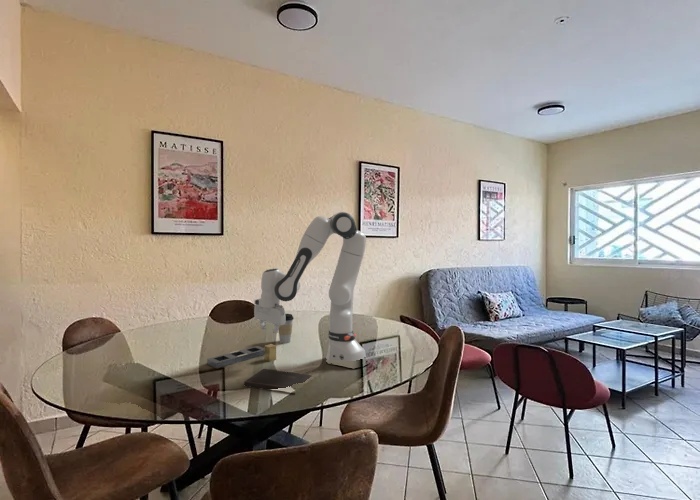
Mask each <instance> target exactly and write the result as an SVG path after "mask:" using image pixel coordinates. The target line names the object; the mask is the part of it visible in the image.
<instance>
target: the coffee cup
mask: <svg viewBox="0 0 700 500" xmlns="http://www.w3.org/2000/svg"><path fill="white" fill-rule="evenodd" d="M285 315H286V323H285V324H284V325H280V327H279V329H278V337H279V343H281V344H289V343H290V342H291V339H292V333H293V320H294V319H295V318H294V316H293V314H291V313H285Z"/></svg>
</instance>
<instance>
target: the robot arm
mask: <svg viewBox="0 0 700 500" xmlns="http://www.w3.org/2000/svg"><path fill="white" fill-rule="evenodd" d="M334 234H336V235H338V236H340V237H342V239H343V240H342V244H341V245H342V246H341V249H340V253H339V257H338V260H337V264H336V268H335V269H334V273H333V277H332V279H331V282H330V286H329V289H328V296H329V299H330V308H329V309H330V311H329V330H328V339H329V340H328V346H327V351H326V352H327V353H326V357H325V363H326V362H329V361H330V360H337V361H356V360H360V359H363V358H364V357H366V358H367V356H366V350H365V348H364V347H362V345H361V344H360V343H359V342H358V341H357V340H356V336H357V333H355V332H354V330H353V311H354V310H353V309H354V291H355V290H354V289H355V285H356V283H357V279H358V276H359V273H360V269H361V265H362V261H363V258H364V254H365V251H366V245H367V244H366V243H367V237H366V234H365V233H364V232H362V231H360V230H358V229H357V225H356V222H355V219H354V217H353V215H351V214H350V213H348V212H346V211H340V212H337V213H335V214H333V215H332V216H331V217H328V218H327V217H325V216H321V215H320V216H315V218H313V219H312V221H311V222H310V224H309V225H308V227H307V228H306V229H305V231H304V233H303V235H302V237H301V239H300V242H299V246H298V247H297V248H298V249H297V251H296V255H295V258H294V260H293V262H292V264H291V266H290V267H289V269H288V271H287V273H284V272H283V271H281V270H280V269H279V268H270V269H269V268H268V269H266V270H264V271H263V272H262V276H261V282H260V284H261V285H260V287H261V294H260V298H258V299H254V301H253V303H254V307H253V308H254V309H253V313H254V314H253V315H254V318H255V319H257V320H259V324H260V329H261V330H266V328H267V325H266V324H265V322H266V323H270V324H274V328H273V329H272V332H273V333H274V334H279V332H278V329H279V327H280V325H284V324H285V323H286V315H285V314H286V311H285V307H284V306H283V305H281V304H280V301H281V302H290V301H292V300H293V299H294V298H295V297H296V295H297V294H298V292H299V290H300V287H301V285H300V284H301V283H300V280H301V278H302V276H303V274H304V272H305V270H306V268H307V267H308V265H309V264H310V263H311V262H312V261H313V260H314V259H315V258H316V257H317V256H318V255H319V254H320V252H321V251H322V250H323V248H324V247H325V244H326V243H327V241H328V239H329V237H330V236H331V235H334ZM326 359H327V360H326Z"/></svg>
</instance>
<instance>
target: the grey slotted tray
mask: <svg viewBox="0 0 700 500" xmlns="http://www.w3.org/2000/svg"><path fill="white" fill-rule="evenodd" d="M261 356H264V347H262V346H259V345H254V346H251V347H248V348H244V349H240V350H238V349H237V350H234V351H231V352H229V353H225V354H221V355H220V354H219V355H218V356H214V357H213V356H212V357H210V358H207V359H206V361H207V362H206V364H207V365H208V366H210V367H212V368H215V369H220V368H222V367H227V366H230V365H233V364H237V363H240V361H241V362H244V361H248V360H251V359H254V358H258V357H261ZM243 360H244V361H243Z"/></svg>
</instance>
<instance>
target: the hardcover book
mask: <svg viewBox="0 0 700 500" xmlns="http://www.w3.org/2000/svg"><path fill="white" fill-rule="evenodd" d="M312 375H313V374H308V373H307V374H305V373H299V372H292V371H282V370H275V369H269V368H263V369H261V370H260V371H258V372H257V373H255V374H254V375H252V376H250V377H248V378H247V379H246V380H245V381H244V382H243V386H244V385H245V386H251V387H250V388H252V387H254V388H253V389H259V388H263V389H262V390H265V389H278V388H286V387H288V386H289V387H290V386H292V385H293V384H296V383H297V384H298V383H303V382H305V381H306V380H307V379H309V378H310V377H311V378H312ZM245 386H244V387H245Z"/></svg>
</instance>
